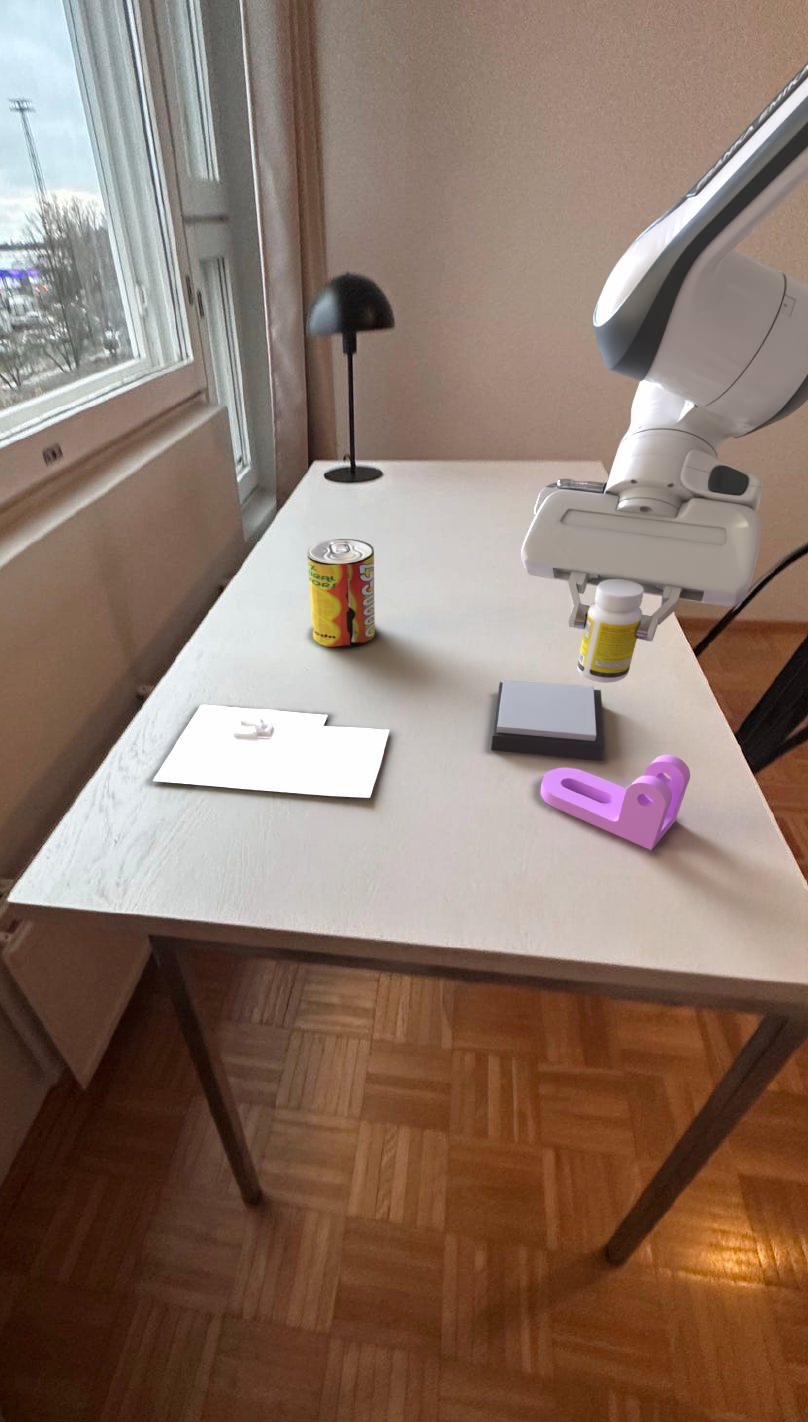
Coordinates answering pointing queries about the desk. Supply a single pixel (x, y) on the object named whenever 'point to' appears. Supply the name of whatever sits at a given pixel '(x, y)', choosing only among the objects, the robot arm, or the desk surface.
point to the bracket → (622, 799)
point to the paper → (275, 753)
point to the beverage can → (342, 592)
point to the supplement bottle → (611, 631)
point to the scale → (549, 720)
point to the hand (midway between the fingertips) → (610, 632)
